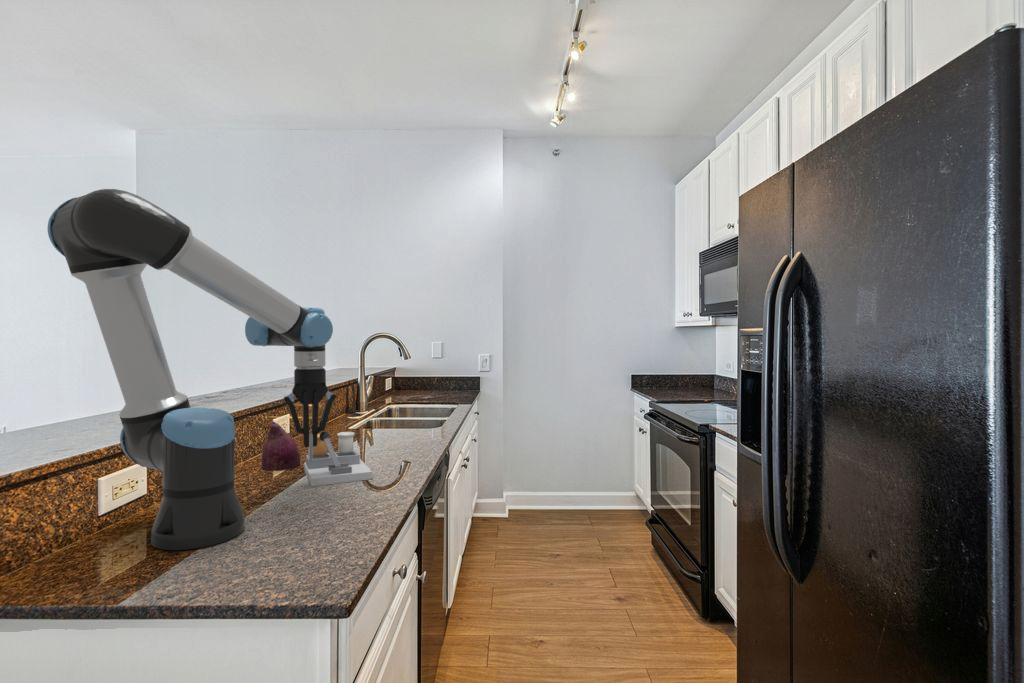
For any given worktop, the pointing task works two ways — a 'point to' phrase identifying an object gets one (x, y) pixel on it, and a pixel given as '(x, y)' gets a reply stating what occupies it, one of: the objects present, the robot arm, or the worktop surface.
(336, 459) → the lever
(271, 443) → the vegetable
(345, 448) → the plunger white
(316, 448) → the plunger orange
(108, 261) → the robot arm
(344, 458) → the panel
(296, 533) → the worktop surface
